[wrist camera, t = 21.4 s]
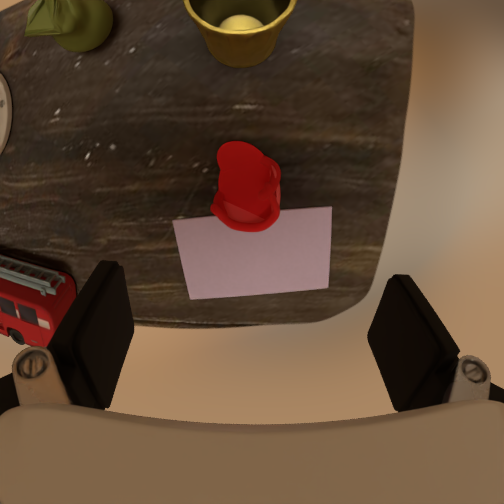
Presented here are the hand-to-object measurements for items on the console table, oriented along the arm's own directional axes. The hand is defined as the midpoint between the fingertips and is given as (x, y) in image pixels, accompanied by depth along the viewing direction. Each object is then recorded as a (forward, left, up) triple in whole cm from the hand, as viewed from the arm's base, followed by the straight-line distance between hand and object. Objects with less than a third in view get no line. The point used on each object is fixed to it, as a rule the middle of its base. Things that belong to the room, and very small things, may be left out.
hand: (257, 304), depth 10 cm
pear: (-13, +16, -20) cm, 29 cm away
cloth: (0, -10, -20) cm, 23 cm away
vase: (0, +12, -20) cm, 24 cm away
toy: (-35, -15, -16) cm, 42 cm away
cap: (0, -3, -15) cm, 15 cm away
